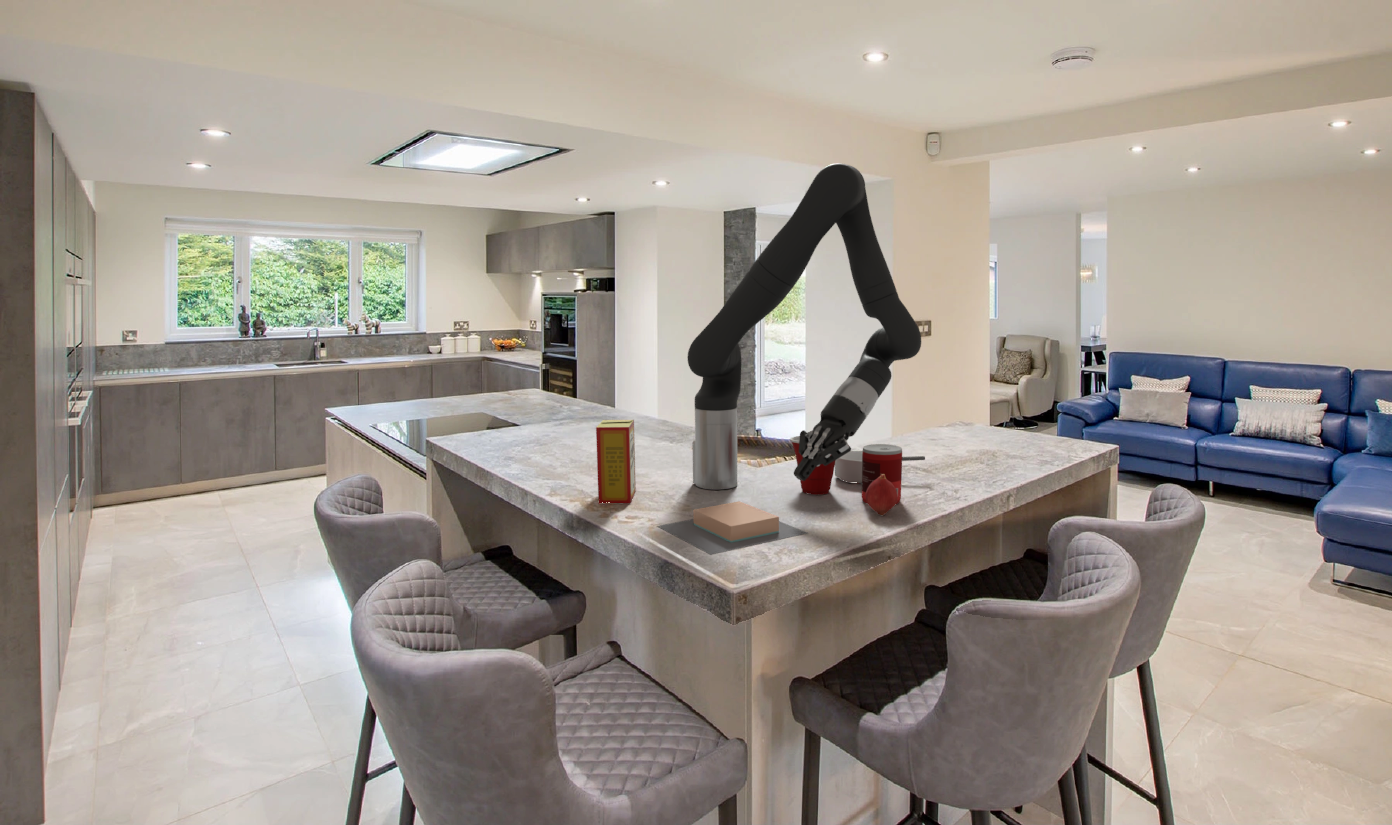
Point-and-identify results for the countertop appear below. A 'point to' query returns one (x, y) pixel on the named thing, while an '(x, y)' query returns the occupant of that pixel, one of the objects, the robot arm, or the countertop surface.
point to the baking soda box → (616, 461)
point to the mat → (717, 544)
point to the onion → (881, 495)
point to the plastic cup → (815, 474)
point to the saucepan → (857, 466)
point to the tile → (736, 521)
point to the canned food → (881, 466)
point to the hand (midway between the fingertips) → (798, 477)
